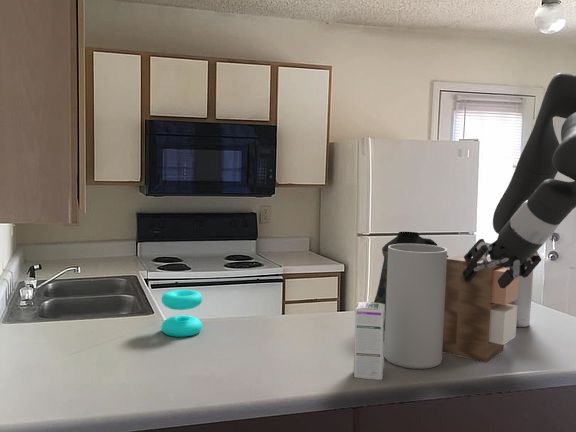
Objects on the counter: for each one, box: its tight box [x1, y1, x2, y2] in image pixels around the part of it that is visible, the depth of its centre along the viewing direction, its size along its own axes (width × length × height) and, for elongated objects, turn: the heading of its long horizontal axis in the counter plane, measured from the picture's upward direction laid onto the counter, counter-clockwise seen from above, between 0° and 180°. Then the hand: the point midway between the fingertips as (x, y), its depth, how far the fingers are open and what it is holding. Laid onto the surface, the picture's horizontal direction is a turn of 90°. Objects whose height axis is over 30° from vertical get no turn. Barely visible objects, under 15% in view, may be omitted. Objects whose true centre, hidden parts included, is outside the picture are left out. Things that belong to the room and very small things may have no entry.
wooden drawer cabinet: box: [442, 252, 505, 363], centre depth 134 cm, size 11×11×22 cm
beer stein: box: [373, 231, 449, 332], centre depth 155 cm, size 16×19×25 cm
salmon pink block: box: [491, 266, 519, 305], centre depth 130 cm, size 6×8×7 cm
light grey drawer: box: [489, 304, 517, 345], centre depth 131 cm, size 6×8×7 cm
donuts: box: [161, 289, 203, 338], centre depth 145 cm, size 10×10×10 cm
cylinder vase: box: [384, 244, 448, 370], centre depth 127 cm, size 12×12×25 cm
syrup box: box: [353, 301, 385, 381], centre depth 119 cm, size 6×6×14 cm
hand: (482, 282), depth 120 cm, fingers open, 8 cm apart
